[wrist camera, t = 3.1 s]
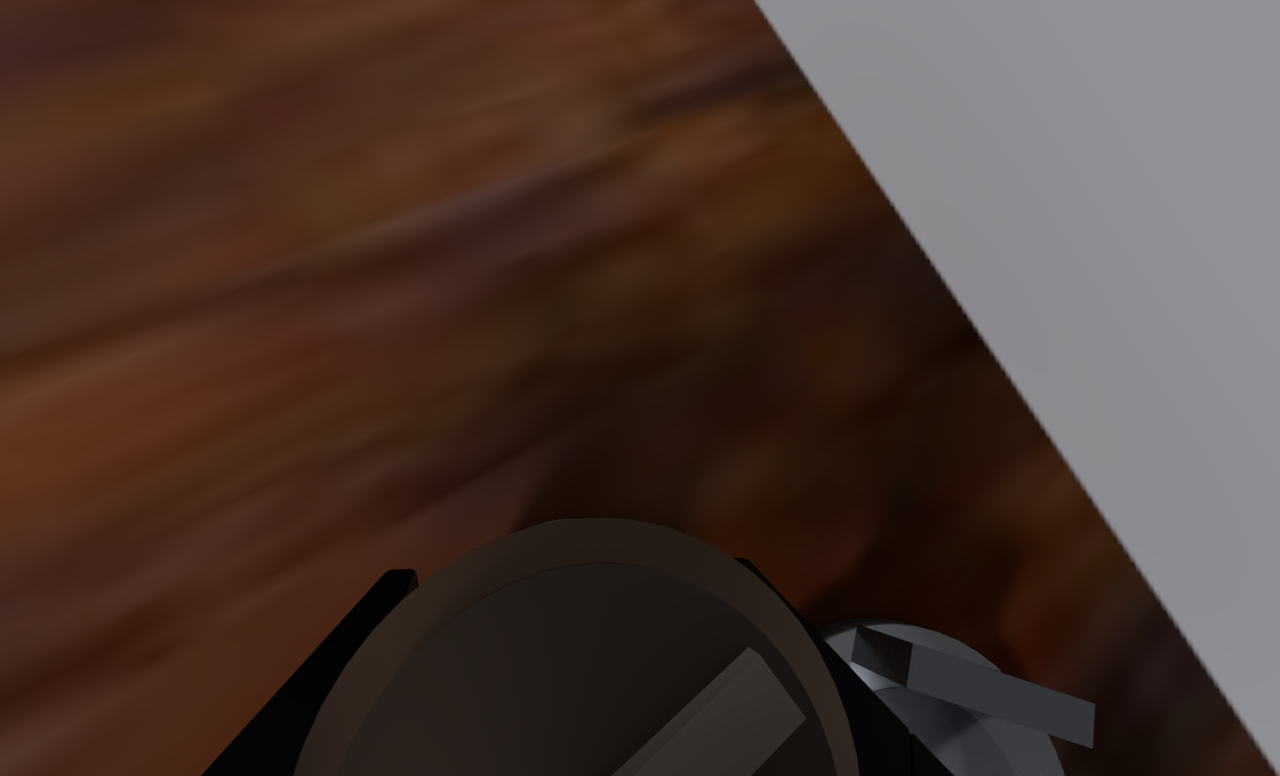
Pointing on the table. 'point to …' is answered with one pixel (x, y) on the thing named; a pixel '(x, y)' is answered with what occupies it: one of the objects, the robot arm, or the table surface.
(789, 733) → the brown cylinder
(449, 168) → the table surface
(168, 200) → the table surface
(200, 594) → the table surface
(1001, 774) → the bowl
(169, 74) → the table surface
